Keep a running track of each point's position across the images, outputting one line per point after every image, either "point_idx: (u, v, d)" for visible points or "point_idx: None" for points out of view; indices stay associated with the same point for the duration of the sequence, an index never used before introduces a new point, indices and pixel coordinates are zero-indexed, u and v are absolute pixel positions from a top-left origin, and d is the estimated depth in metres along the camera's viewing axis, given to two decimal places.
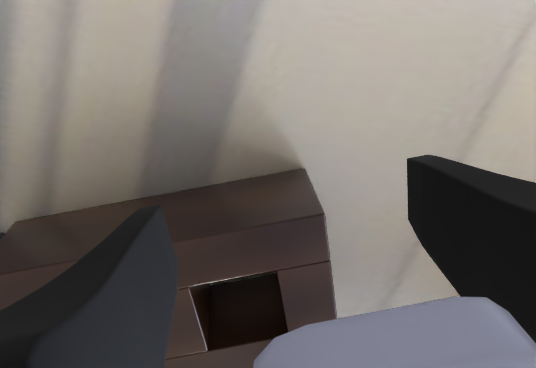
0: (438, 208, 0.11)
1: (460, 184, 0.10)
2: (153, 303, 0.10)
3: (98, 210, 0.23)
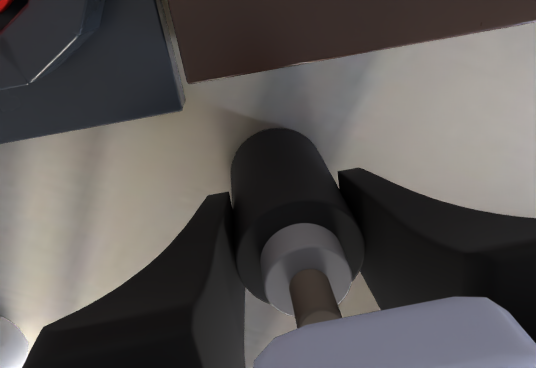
0: (360, 223, 0.11)
1: (372, 201, 0.10)
2: (234, 288, 0.10)
3: None
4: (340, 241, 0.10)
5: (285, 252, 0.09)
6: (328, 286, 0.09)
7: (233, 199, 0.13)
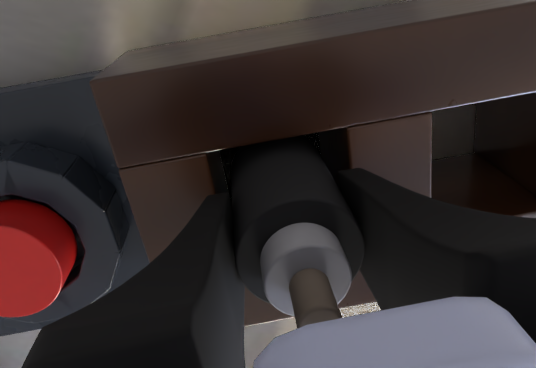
0: (360, 223, 0.11)
1: (372, 200, 0.10)
2: (233, 288, 0.10)
3: (253, 29, 0.15)
4: (340, 241, 0.10)
5: (285, 252, 0.09)
6: (328, 286, 0.09)
7: (233, 199, 0.13)
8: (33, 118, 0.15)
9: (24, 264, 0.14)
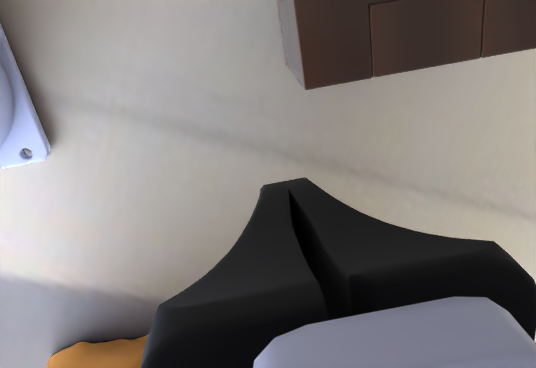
0: (300, 234, 0.11)
1: (304, 213, 0.10)
2: None
3: None
4: None
5: None
6: None
7: None
8: None
9: None
